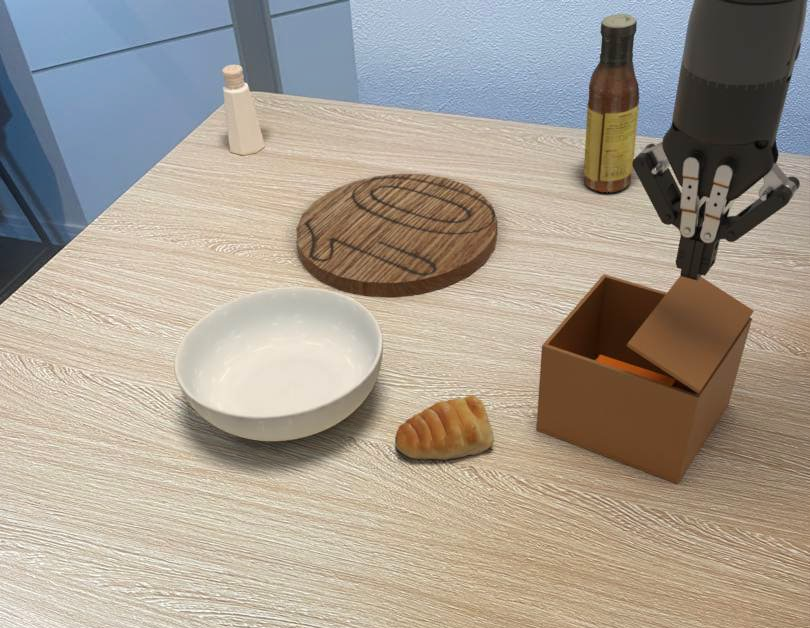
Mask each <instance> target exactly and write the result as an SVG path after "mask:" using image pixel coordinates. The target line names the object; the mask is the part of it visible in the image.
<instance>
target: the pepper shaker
mask: <svg viewBox="0 0 810 628" xmlns="http://www.w3.org/2000/svg"><path fill="white" fill-rule="evenodd" d="M221 71H222V75H223V79H224V82H225V85H224V86H223V87H222V91H223V92H222V93H223V100H224V110H225V120H226V129H227V137H228V147H229V151H230V153H231V154H236V155H239V156H247V155H253V154H257V153H259V152H260V151H261V150H263V149H264V148H265V147H266V144H265V141H264V137H263V133H262V130H261V126H260V122H259V119H258V115H257V113H256V108H255V104H254V101H253V98H252V94H251V91H250V88H249V85H248V82H245V80H244V73H243V72H244V69H243V67H242V66H241V65H239V64H229V65H227V66H224V67H223V68H222V70H221Z"/></svg>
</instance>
